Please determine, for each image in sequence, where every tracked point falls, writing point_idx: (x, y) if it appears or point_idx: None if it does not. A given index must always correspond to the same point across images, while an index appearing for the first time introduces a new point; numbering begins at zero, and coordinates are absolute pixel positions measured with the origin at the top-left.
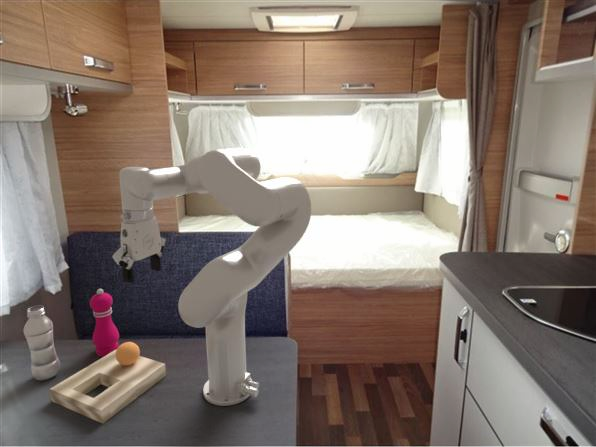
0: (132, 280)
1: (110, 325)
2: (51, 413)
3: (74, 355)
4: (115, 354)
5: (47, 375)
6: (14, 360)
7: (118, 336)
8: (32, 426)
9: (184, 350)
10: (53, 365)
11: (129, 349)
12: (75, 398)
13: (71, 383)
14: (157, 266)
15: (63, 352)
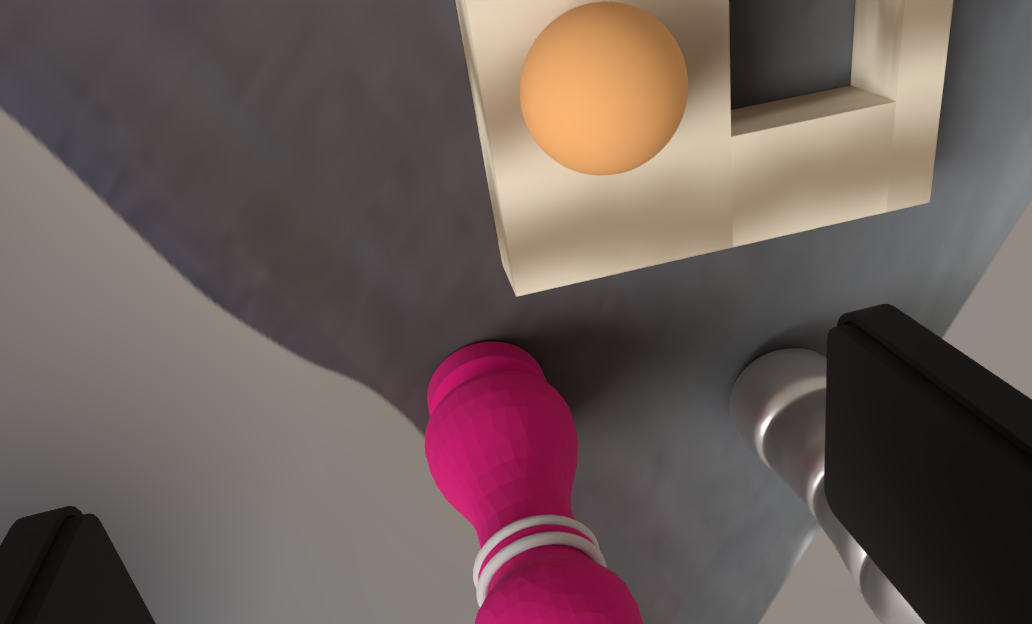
0: (906, 322)
1: (502, 465)
2: (943, 88)
3: (607, 462)
4: (562, 244)
5: (814, 354)
6: (756, 583)
7: (449, 401)
8: (1028, 66)
9: (141, 4)
10: (804, 377)
11: (642, 42)
12: (945, 1)
13: (860, 160)
14: (72, 616)
15: (619, 518)
